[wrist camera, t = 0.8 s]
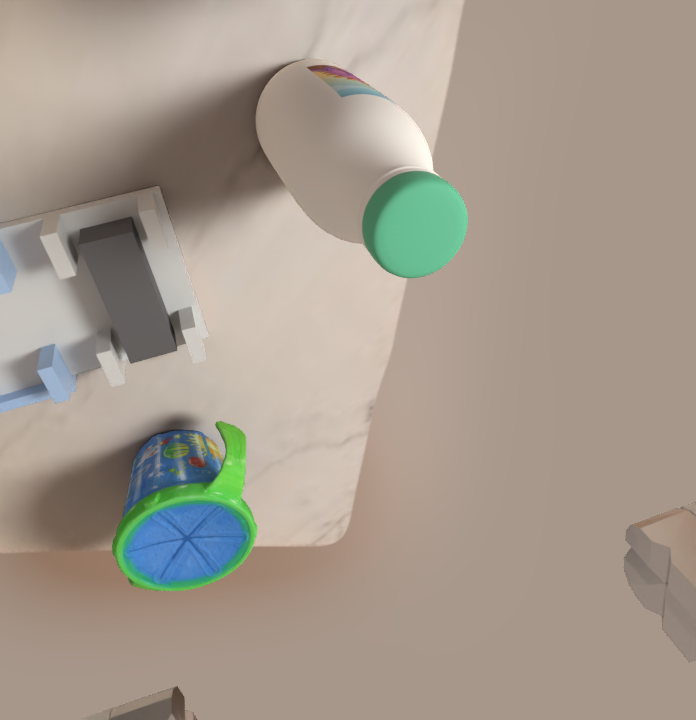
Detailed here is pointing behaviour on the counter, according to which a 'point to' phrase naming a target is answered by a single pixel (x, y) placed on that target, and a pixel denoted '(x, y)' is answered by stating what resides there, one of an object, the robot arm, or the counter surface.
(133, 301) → the long gray rectangular prism
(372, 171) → the milk bottle
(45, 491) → the counter surface
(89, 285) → the pegged tray
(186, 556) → the snack cup
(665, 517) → the robot arm
